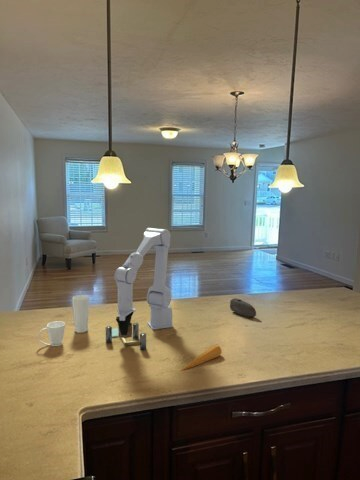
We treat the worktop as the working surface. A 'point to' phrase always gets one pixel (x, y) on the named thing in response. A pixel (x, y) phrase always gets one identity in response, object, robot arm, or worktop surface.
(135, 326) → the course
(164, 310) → the robot arm
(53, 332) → the cup
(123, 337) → the octagonal hollow tube
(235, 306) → the perforated stone tool
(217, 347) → the carrot
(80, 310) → the drinking glass
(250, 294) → the worktop surface
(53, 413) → the worktop surface
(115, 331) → the pad
